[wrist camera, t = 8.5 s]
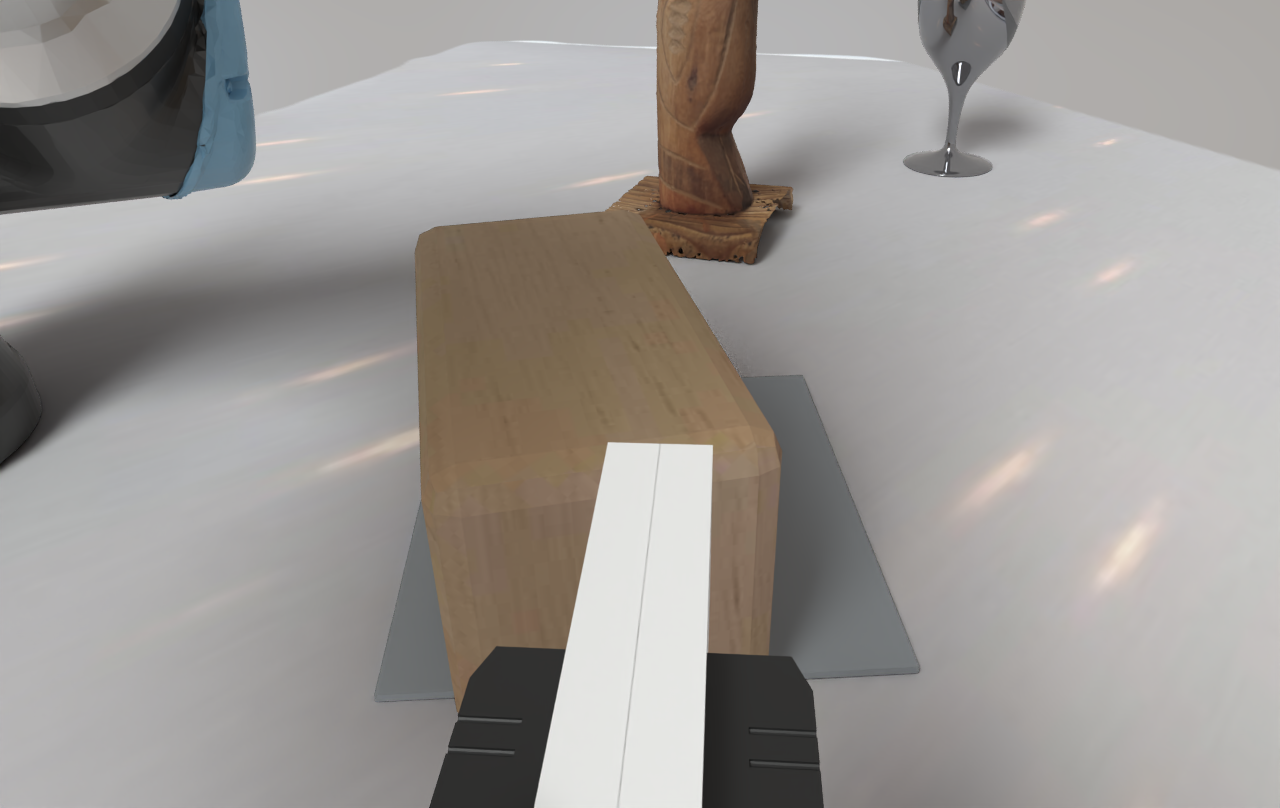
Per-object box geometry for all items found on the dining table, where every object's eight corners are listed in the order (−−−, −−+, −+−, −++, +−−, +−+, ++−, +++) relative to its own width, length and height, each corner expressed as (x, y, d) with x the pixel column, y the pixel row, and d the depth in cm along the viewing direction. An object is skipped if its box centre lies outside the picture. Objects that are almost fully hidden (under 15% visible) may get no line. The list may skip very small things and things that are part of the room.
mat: (448, 395, 49) (447, 390, 49) (801, 379, 50) (802, 374, 49) (375, 701, 32) (374, 695, 32) (918, 672, 32) (919, 666, 32)
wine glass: (946, 184, 76) (976, -24, 68) (878, 159, 82) (898, -35, 74) (1019, 167, 79) (1056, -33, 71) (948, 144, 85) (975, -43, 77)
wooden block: (776, 701, 31) (645, 395, 48) (796, 439, 26) (641, 200, 43) (462, 759, 29) (440, 420, 46) (416, 491, 24) (411, 220, 41)
